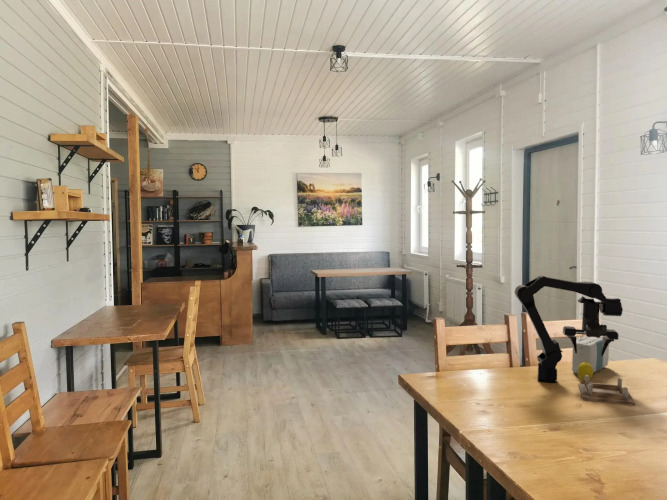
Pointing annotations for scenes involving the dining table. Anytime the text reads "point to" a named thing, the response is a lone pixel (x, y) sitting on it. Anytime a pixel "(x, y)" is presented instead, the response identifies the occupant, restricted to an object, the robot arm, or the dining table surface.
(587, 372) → the lemon
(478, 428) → the dining table surface
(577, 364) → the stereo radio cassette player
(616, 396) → the cradle tray
